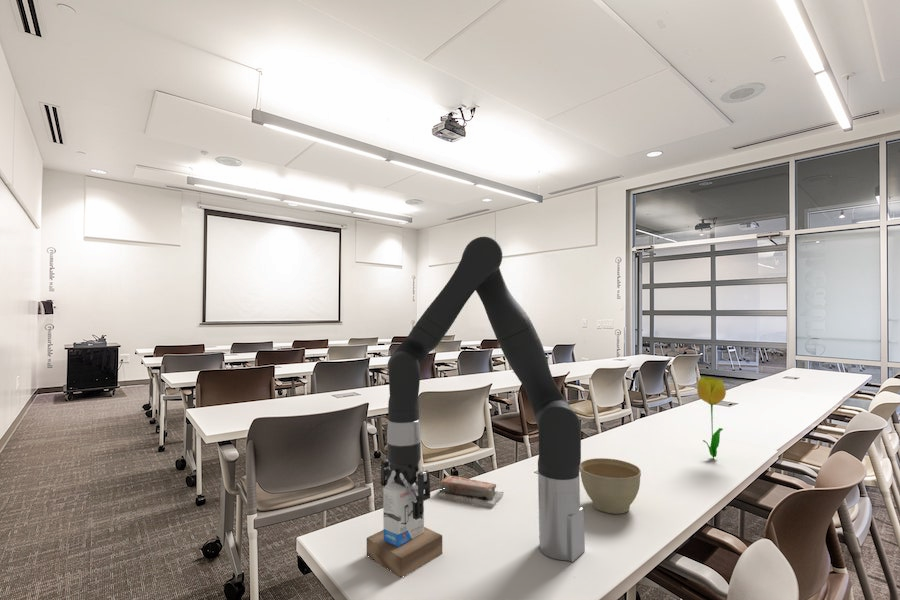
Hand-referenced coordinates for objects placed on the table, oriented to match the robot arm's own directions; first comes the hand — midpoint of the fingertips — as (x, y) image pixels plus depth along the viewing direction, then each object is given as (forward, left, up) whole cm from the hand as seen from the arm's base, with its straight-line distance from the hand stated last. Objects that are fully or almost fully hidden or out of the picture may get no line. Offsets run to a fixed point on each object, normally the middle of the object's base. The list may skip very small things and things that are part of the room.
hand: (404, 512), depth 95 cm
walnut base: (0, 0, -9) cm, 9 cm away
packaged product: (+9, -34, -10) cm, 36 cm away
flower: (-38, -118, -10) cm, 124 cm away
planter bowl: (-25, -54, -10) cm, 60 cm away
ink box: (0, 0, -6) cm, 6 cm away
